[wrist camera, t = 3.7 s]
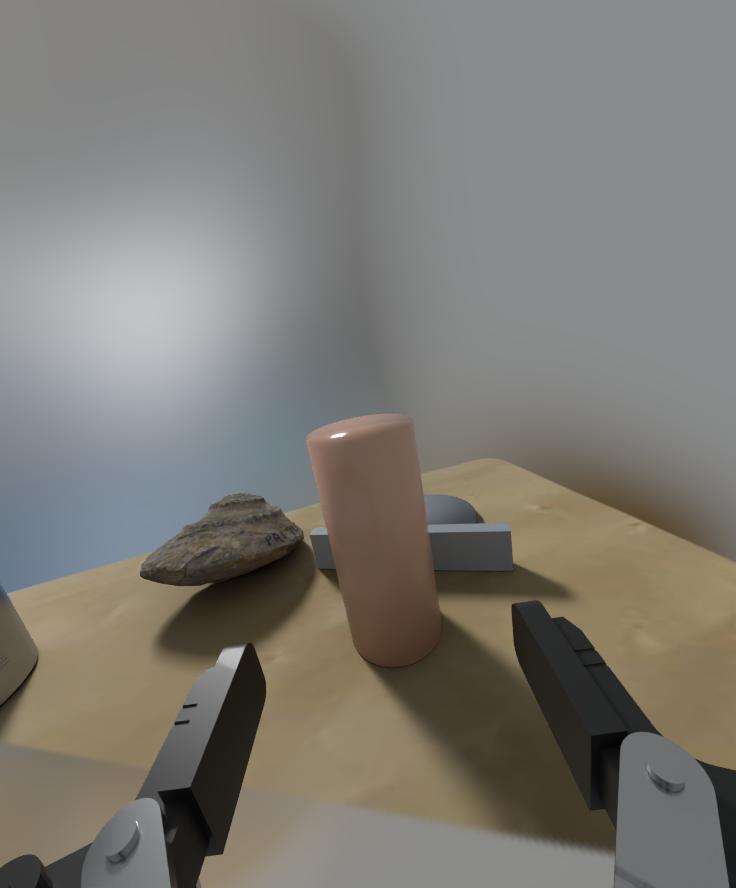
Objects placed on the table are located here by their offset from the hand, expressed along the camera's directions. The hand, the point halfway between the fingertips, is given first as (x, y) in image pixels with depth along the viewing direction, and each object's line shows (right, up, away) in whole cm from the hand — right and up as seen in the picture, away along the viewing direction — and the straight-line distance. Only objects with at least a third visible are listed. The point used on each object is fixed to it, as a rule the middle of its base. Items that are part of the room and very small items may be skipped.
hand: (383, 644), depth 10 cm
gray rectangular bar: (+3, -3, +14) cm, 15 cm away
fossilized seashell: (-11, -5, +18) cm, 22 cm away
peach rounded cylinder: (+1, -4, +9) cm, 10 cm away
